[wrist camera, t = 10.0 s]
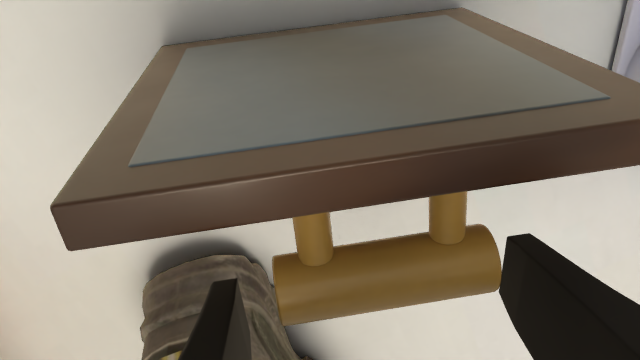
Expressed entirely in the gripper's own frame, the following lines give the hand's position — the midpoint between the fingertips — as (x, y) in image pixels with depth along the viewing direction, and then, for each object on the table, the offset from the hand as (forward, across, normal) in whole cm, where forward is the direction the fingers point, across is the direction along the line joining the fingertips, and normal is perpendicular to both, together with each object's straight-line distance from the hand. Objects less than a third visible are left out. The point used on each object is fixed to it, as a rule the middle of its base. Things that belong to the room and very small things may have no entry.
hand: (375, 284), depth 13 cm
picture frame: (+4, 0, -5) cm, 6 cm away
